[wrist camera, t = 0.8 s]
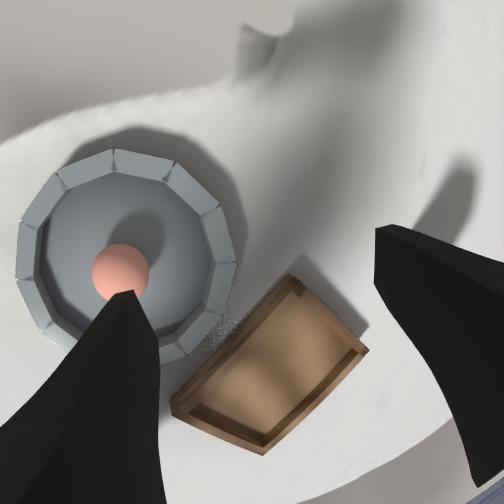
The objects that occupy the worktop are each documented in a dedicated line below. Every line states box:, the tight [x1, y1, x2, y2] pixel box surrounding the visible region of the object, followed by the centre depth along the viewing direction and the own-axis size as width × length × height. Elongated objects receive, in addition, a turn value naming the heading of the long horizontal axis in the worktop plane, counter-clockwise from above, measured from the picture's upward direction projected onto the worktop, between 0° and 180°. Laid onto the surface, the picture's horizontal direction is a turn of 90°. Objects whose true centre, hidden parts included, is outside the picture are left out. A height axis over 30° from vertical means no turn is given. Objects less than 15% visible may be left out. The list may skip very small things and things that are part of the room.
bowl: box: [15, 149, 237, 365], centre depth 22 cm, size 16×16×2 cm
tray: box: [169, 274, 369, 456], centre depth 29 cm, size 16×12×2 cm
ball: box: [92, 244, 149, 301], centre depth 20 cm, size 4×4×4 cm
